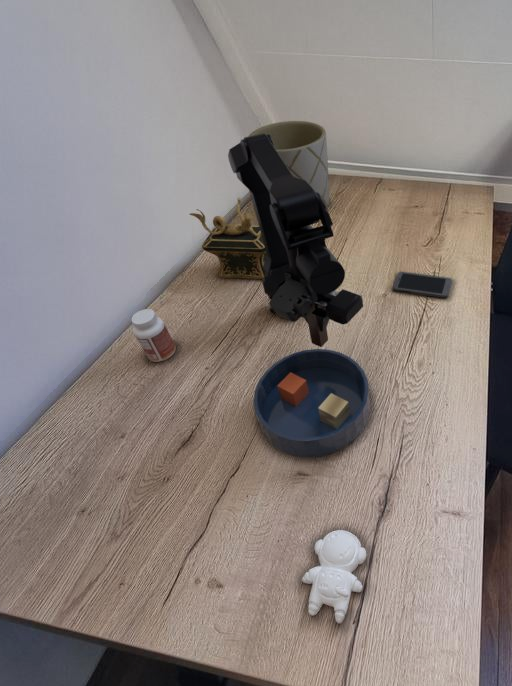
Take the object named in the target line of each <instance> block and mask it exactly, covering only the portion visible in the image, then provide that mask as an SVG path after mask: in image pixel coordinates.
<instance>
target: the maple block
mask: <svg viewBox="0 0 512 686" xmlns="http://www.w3.org/2000/svg"><path fill="white" fill-rule="evenodd" d="M318 409H319V414H320V419H321V421H322V422H324V423H326V424H328V425H330V426H331V427H333V428H335V429H338V428H340V426H341V425H342V424H343V423H344V421H345V420H346V419H347V418H348V416H349V415H350V411H349V403H348V402H347V401H345V400H344V399H342V398H340V397H338V396H336V395H334V394H332V393H331V394H330V395H329V396H328V397H327V398H326V400H325V401H324V402H323V403H322V404H321V405H320V406H319V408H318Z"/></svg>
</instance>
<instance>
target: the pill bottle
mask: <svg viewBox="0 0 512 686" xmlns="http://www.w3.org/2000/svg"><path fill="white" fill-rule="evenodd" d="M131 323H132V325H133V329H132V330H133V334H134V336H135V338H136V340H137V341H138V343H139V345H140V347H141V349H142V350H143V352H144V354H145V356H146V357H147V359H148V360H149V361H151V362H155V363H160V362H164V361H166V360H168V359H170V358H171V357H172V356H173V355H174V353H176V344H175V342H174V340H173V338H172V336H171V334H170V332H169V331H168V328H167V325H166V323H165V322H164V320H163V319H162V318H160V317H158V316H157V314H156V312H155V311H154V310H153V309H150V308H144V309H141V310H138V311H136V312H135V313H134V314H133V315H132V316H131Z"/></svg>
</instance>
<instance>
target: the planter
mask: <svg viewBox="0 0 512 686" xmlns="http://www.w3.org/2000/svg"><path fill="white" fill-rule="evenodd" d="M262 133H265V134H269V135H270V136H271V139H272V140H273V143H274V146H275V149H276V151H277V152H278V154H279V155H280V157H281V158H282V160H283V161H284V163H285V164H286V166H287V167H288V169H289V170H290V172H291V173H292V175H293V176H294V177H296V178H299V179H303V180H305V181H307V182H308V183H309V184H310V186H311V187H312V188H313V189H314V190H315V192H318V193H319V194H320V197H321V198H322V199H323V200H324V203H325V205H326V208H327V209H328V207H329V205H330V181H329V179H330V178H329V161H328V145H327V142H328V141H327V133H326V129H325V128H324V127H323V125H320V124H318V123H315V122H311V121H305V120H288V121H287V120H286V121H278V122H274V123H270V124H266V125H263V126H260V127H258V128H257V129H254V130H253V131H252V132H251V133H249V135H248V136H247V137H249V136H253V135H258V134H262Z"/></svg>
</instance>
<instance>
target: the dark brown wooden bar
mask: <svg viewBox="0 0 512 686" xmlns="http://www.w3.org/2000/svg"><path fill="white" fill-rule="evenodd" d="M318 305H319V304H317V303H314V307H313V309H312V311H311V312H310V314H309V315H308V317H307V320H308V323H307V325H308V330H309V337H310V341H311V344H313V345H315V346H317V347H319V348H322V347H323V346H324V345H325V344H326V343H327V342H328V341H329V336H328V329H327V327H326V329H325V330H324V331H323V332H321V330H320V327H319V323H318V319H317V316H316V315H313V314H311V313H312V312H313V311H314V310H315V309H316V308H317V307H318Z"/></svg>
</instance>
